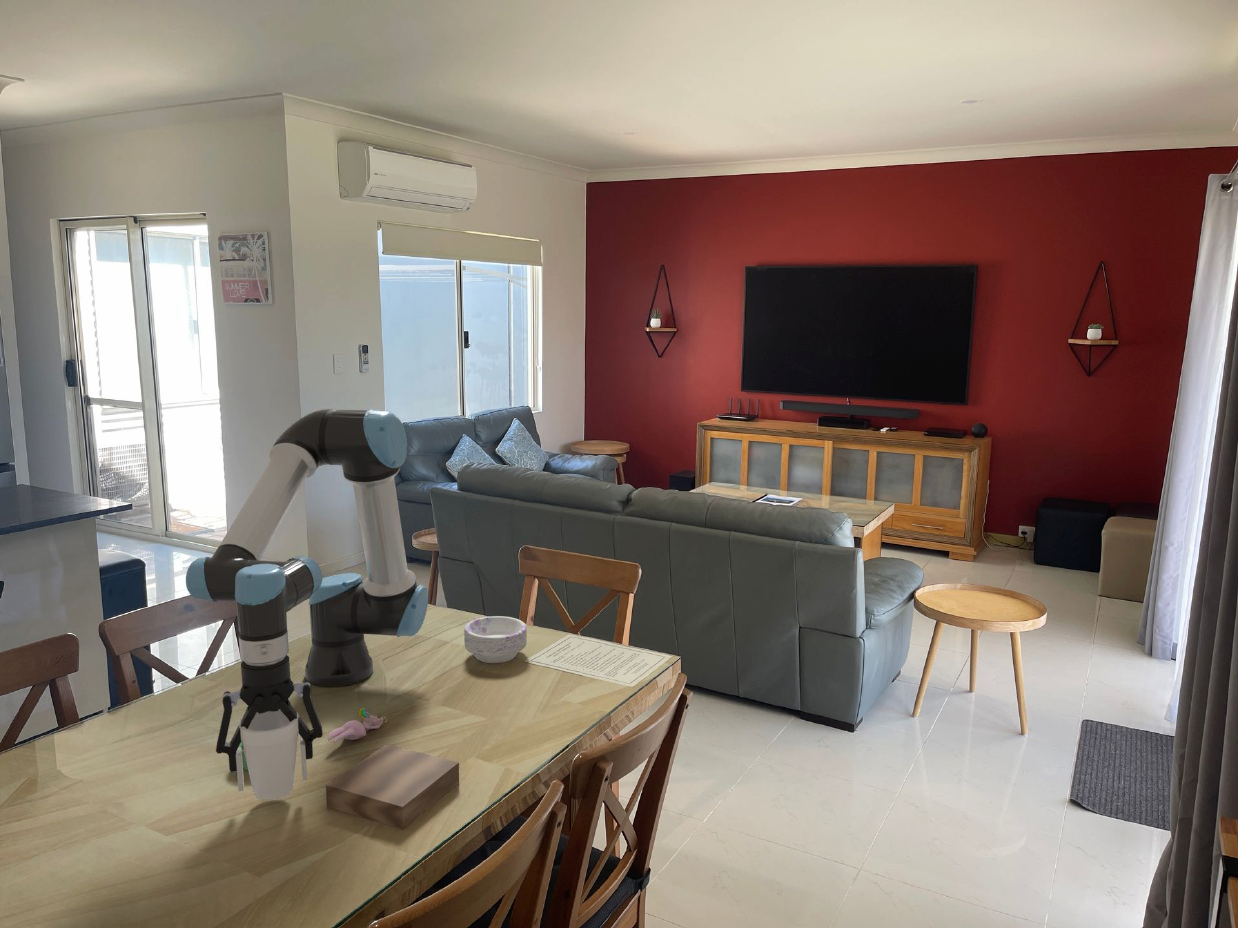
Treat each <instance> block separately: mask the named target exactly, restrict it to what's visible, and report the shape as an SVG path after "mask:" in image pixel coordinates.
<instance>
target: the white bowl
mask: <svg viewBox="0 0 1238 928" xmlns="http://www.w3.org/2000/svg"><path fill="white" fill-rule="evenodd" d="M527 628H528V627H527V624H526V623H525V622H524V621H522V620H520V619H518V618H516V617H515V618H514V617H511V616H503V615H502V616H501V615H498V616H497V615H494V616H484V617H478V618H476V619H473V620H471V621H469V622H468V623H466V624H465V626H464V629H463V633H464V648H465V650H466V651H467V652H469V653H471V654H472V655H473V656H474V657H475V659H476V660H477V661H480V662H483V663H487V664H502V663H506V662H509V661H511V660H513V659H515V657H517V656H518V653H519V652H520V651H522V650H523V649H525V647H526V645H527V642H528V641H527V633H528V632H527V631H528V630H527Z"/></svg>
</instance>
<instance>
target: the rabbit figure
mask: <svg viewBox="0 0 1238 928" xmlns="http://www.w3.org/2000/svg"><path fill="white" fill-rule="evenodd" d="M358 716H359V718H362V719H363V722H360V721H359V720H356V719H354V720H349V721H347V722H346V723H345V724H343V725H342V726H341V727H336V728H334V729H332V730H331V731H330V732H329V734H328V736H327V741H330V742H331V740H332V739H334V741H333V742H334V743H336V742H338V741H340V740H341V739H343V738H345V739H346V740H350V741H356V740H359V739H362V738H364V737H365V736H367V731H369V730H375V729H376V730H378V729H379V728H381V727H382V725H383V723H384V724H386V723H388V720H387V715H385V716H384V715H382V716H380V717H378V715H377V712H376V713H375V714H374V713H372V714H370V713H369V712H368V711H366V707H365V706H364V707H361V708H360V709H359V711H358Z"/></svg>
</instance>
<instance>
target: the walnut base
mask: <svg viewBox="0 0 1238 928" xmlns="http://www.w3.org/2000/svg"><path fill="white" fill-rule="evenodd" d="M458 784H460V761H459V762H458V761H456V760H451V759H447V758H443V757H439V756H435V755H431V754H428V753H424V752H423V753H422V752H419V751H415V750H411V749H408V748H403V747H400V746H399V747H398V746H396V745H391V744H385V745H383V746H382V747H381V748H379V749H378V750H375V751H374V752H373V753H372V754H370V755H368V756H366V757H365V758H364V759H362V760H361V761H359V762H358V763H357V764H355V765H353V766H352V767H350V768H349V769H347V770H346V771H345V772H342V773H341V774H339V775H338V776H337V777H335V778H334V779H332V780H331V781H329V782H328V783H326V784H325V796H326V799H325V800H326V801H325V802H326V808H330V809H333V810H337V811H340V812H343V813H347V814H350V815H353V816H357V817H360V818H364V819H367V820H370V821H373V822H376V823H380V824H384V825H387V826H391V827H394V828H396V829H400V830H404V829H406V828H407V827H408V826H410V825H411V823H413V822H414V821H415V820H417V819H418V818H419V817H420V816H421V815H423V814H424V813H425V812H426V811H428V809H430V808H432V807H433V806H434V805H435V804H436V803H438V802H439V801H440V800H441V799H442V798H444V796H446V795H447V794H448V793H449V792H450V791H451V790H453V789H454V788H456V786H457V785H458Z"/></svg>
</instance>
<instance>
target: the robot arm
mask: <svg viewBox="0 0 1238 928" xmlns="http://www.w3.org/2000/svg"><path fill="white" fill-rule="evenodd" d="M407 439H408V438H407V433H406V430H405V427H404V425H403V422H402V420H401V419H400V418H399V417H398V416H397V415H395V414H394V413H393V412H391V411H385V410H384V411H383V410H377V409H366V410H364V409H361V410H359V409H358V410H357V409H334V408H333V409H332V408H331V409H330V408H326V409H320V410H315V411H312V412H311V413H308V414H306V415H304V416H302V417H301V418H299V419H298V420H296V421H295V422H294V423H292V424H291V425H290V426H289V427H288V428H286V430H284V432H282V433H281V434H280V436H279V437H278V438H277V439H276V441H275V442H274V444H273V446H272V448H271V449H270V451H269V456H268V457H269V462H268V464H267V466H266V467H265V469H264V470H263V472H262V474H261V476H260V478H259V479H258V481H257V483H256V484H255V485H254V488H253V489H252V491H251V492H250V494H249V496H248V497H247V499H246V500H245V502H244V504H243V505H242V507H241V509H240V511H238V514H237V515H236V517H235V519H234V520H233V522H232V523H231V525H230V527H229V528H228V530H227V533H226V534H225V535H224V537H223V538H222V539H221V542H220V544H219V545H218V547H217V549H216V550H215V552H214V553H213V555H212V556H211V557H210V556H205V557H198V558H196V559H195V560H193V561H192V562H191V563H190V564H189V566H188V567H187V571H186V575H185V587H186V589H187V592H188V594H189V595H190V596H191V597H192V598H194V599H196V600H202V601H208V602H213V603H216V602H228V603H229V602H230V603H236V604H235V605H236V615H237V624H238V626H237V627H238V642H239V643H238V645H239V657H240V660H241V663H240V670H241V671H240V672H241V688H240V690H238V691H234V692H230V691H228V690H227V691H225V692H223V695H222V706H223V713H222V717H221V722H220V726H219V732H218V736H217V742H216V747H215V752H216V754H222V753H223V754H226V755H228V764H229V765H228V767H229V771H230V773H232V772H233V773H234V772H236V775H237V776H236V777H237V787H238V792H243V791H244V787H245V780H244V779H245V778H244V770H243V763H242V749H241V747H240V748H238V747H239V745H240V743H241V733H240V728H239V725H237V728H236V730H235V732H234V734H233V735H232V738H231V740H230V742H228V741H227V738H228V732H229V728H230V723H231V720H232V719H231V718H232V713H233V707H235V706H237V704H238V700H241V701H243V703H245V705H247V707H246V709H245V712H244V714H243V716H242V718H241V719H242V720H241V719H240V721H241V726H240V727H245V728H246V729H248V727H249V725H250V723H251V721H252V720H253V719H254V717H255V715H256V713H258V714H261V713H265V712H268V711H272V712H275V711H278V710H279V709H280V710H281V712H282V713H283V714H284V715H285V716H286V717H287V718H288V720H289V721H290V722H292V721H293V720H294V719H297V713H298V711H297V710H296V709H295V708H294V707H293V705H292V703H291V701H290V700H289V699H290V697H291V696H292V694H293V693H294V692H295V693H296V694H297V696H298V697H300V698H302V703H303V705H304V708H305V711H306V714H307V716H308V719H309V722H310V725H311V727H312V729H310V728H309V727H308V725H307V724H306V723H305V721H303V719H302V717H301V716H300V715H299V718H298V730H299V732H298V736H300V738H299V741H300V742H299V743H300V745H299V746H300V759H301V761H300V763H301V778H302V781H307V780H308V769H307V760H312V759H313V757H314V751H313V742H314V740H316V739H319V738H322V737H323V734H324V733H323V725H322V724H321V720H320V718H319V715H318V712H317V709H316V707H315V704H314V701H313V698H312V696H311V684H312V685H315V686H319V687H343V686H348V685H352V684H356V683H359V682H362V681H364V680H366V679H368V678H369V677H371V675H372V674H373V672H374V662H373V658H372V656H371V655H370V652H369V649H368V645H367V643H366V641H365V635H375V636H376V635H379V636H393V637H394V636H395V637H397V638H400V637H412V636H415V635H416V634H418V633H419V631H420V630H421V628H422V627H423V624H424V622H425V618H426V614H427V610H428V603H429V590H428V588H427V587H426V586H425V585H422V584H417V578H416V574H415V572H413V571H412V570H411V569H408V564H407V557H406V550H405V542H404V536H403V535H404V534H403V529H402V523H401V517H400V510H399V503H398V494H397V489H396V488H397V487H396V482H395V476H397V475H398V473H399V472H400V470H401V467H402V465H403V464H404V463H405V461H406V460H407V455H408V449H407V447H408V440H407ZM325 465H326V466H328V465H329V466H341V467H342V472H343V473H342V474H343V478H344V479H345V480H346V481H348V482H350V483H351V484H352V487H353V492H354V493H353V494H354V499H355V504H356V511H357V515H358V521H359V527H360V528H359V529H360V536H361V540H362V547H363V550H364V551H363V552H364V557H365V564H366V568H367V569H366V571H367V577H366V578H365V579H364V578H363V577H362V575H361V574H359V573H356V572H348V573H340V574H334V575H331V576H327V577H326V576H325V577H324V576H323V572H322V569H321V567H320V565H319V563H317V562H316V561H315V560H314V559H312V558H311V557H308V556H306V555H300V556H295V557H292V558H289V559H287V560H286V561H280V560H279V561H278V560H261V559H262V558H263V556H264V554H265V552H266V550H267V548H268V547H269V545H270V544H271V541H272V540H273V538H274V536H275V534H276V532H277V531H278V529H279V527H280V525H281V523H282V522H283V520H284V518H285V517H286V514H287V513H288V511H289V509H290V507H291V505H292V503H293V502H294V500H295V499H296V498H297V497H296V496H298V495H297V494H298V493H299V491H300V489H301V487H302V485H303V484H304V482H305V480H306V479H308V478H310V477H312V476H313V475H314V474H315V473H316V471H317V469H318V468H320V467H321V466H325ZM363 579H364V580H363ZM307 600H308V605H309V619H310V633H311V635H310V636H311V646H310V649H309V650H310V651H309V653H308V656H307V661H306V664H305V667H304V676H305V677H304V678H305V680H304V681H303V682H302V683H298V682H297V683H294V682H293V681H292V678H291V666H290V657H289V655H288V654H289V651H290V649H289V635H288V634H289V633H288V622H287V613H289V612H290V611H291V610H292V609H294V608H295V607H297V606H299V605H300V604H301V603H303V602H305V601H307Z"/></svg>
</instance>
